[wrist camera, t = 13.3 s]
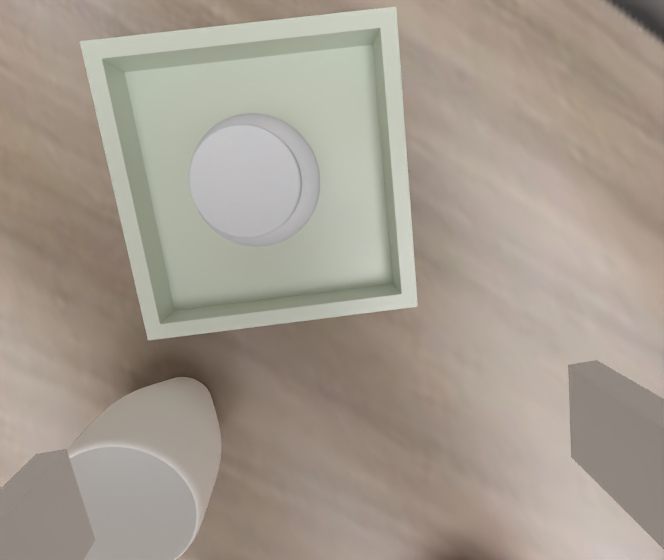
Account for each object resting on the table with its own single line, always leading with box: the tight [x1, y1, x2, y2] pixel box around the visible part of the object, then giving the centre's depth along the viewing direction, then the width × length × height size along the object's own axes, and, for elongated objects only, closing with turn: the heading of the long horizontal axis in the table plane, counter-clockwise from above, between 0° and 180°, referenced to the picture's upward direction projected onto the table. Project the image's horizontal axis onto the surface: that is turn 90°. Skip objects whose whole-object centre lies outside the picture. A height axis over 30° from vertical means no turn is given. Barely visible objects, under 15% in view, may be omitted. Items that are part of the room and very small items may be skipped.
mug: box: [67, 377, 222, 560], centre depth 27 cm, size 12×8×11 cm
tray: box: [80, 7, 418, 340], centre depth 28 cm, size 18×18×4 cm
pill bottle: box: [189, 113, 320, 247], centre depth 23 cm, size 6×6×12 cm
